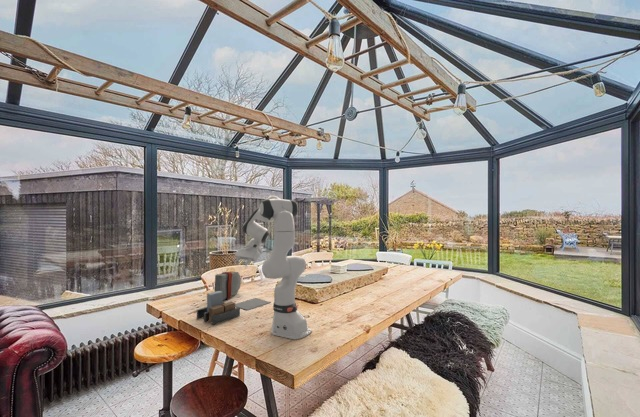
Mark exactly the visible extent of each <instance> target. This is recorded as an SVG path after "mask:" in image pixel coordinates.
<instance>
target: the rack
mask: <svg viewBox="0 0 640 417" xmlns="http://www.w3.org/2000/svg"><path fill="white" fill-rule="evenodd" d="M224 303H225V302H223V304H224ZM238 317H241V308H239V307H235V308H234V309H231V310H228V311H225V312H222V313H219V314H215V315H212V323H211V325H212V326H215V325H218V324H221V323H224V322H227V321H230V320H233V319H235V318H238ZM202 318H203V322H205V323H207V322H209V311H208V312H207V306H206V307H202V308H201V307H200V308H199V309H196V319H202Z"/></svg>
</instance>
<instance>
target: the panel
mask: <svg viewBox="0 0 640 417" xmlns="http://www.w3.org/2000/svg"><path fill="white" fill-rule="evenodd" d="M223 301H224V300H223V292H221V291H216V292H214V291H212V292H208V293H206V307H207V312H208V311H209V308H210V307H214V306H217V305H221V304H223Z"/></svg>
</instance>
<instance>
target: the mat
mask: <svg viewBox="0 0 640 417" xmlns="http://www.w3.org/2000/svg"><path fill="white" fill-rule="evenodd" d="M270 303H272V302H271V301H268V300H265V299H261V298H257V297H253V298H250V299H247V300H243V301H241V302H237V303H235V308H238V307H239V308H240V310H241V309H242V310H245V311H249V310H253V309H256V308H260V307H262V306H264V305H268V304H270Z"/></svg>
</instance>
